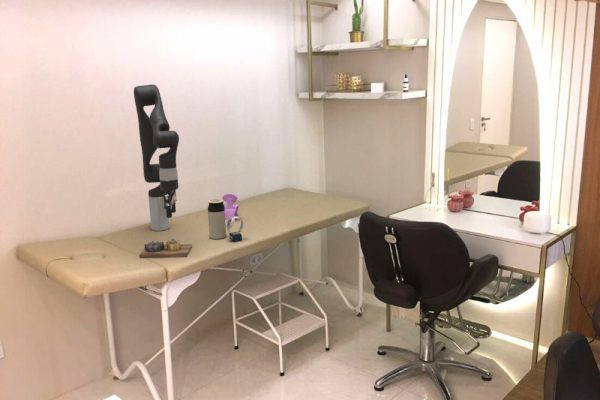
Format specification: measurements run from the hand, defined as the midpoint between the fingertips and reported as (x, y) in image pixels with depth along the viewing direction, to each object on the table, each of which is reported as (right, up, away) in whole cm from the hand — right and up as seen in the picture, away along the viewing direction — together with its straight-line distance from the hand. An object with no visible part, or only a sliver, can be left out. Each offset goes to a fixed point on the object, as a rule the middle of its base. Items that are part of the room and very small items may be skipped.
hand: (171, 215), depth 230 cm
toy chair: (+19, -4, +58) cm, 61 cm away
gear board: (-3, -17, +3) cm, 17 cm away
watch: (+25, -13, +20) cm, 35 cm away
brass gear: (0, -15, +3) cm, 15 cm away
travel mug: (+16, -11, +26) cm, 32 cm away
